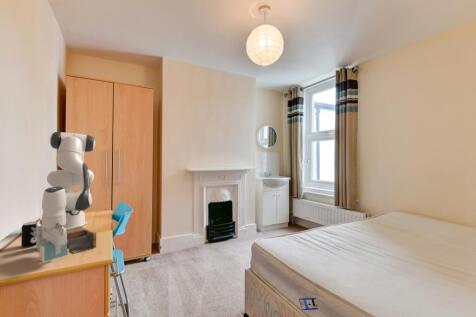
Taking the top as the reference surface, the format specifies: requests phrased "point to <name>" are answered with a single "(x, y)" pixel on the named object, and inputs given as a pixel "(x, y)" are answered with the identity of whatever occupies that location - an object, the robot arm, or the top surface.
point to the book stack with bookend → (80, 239)
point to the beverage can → (28, 234)
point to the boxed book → (51, 251)
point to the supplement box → (39, 237)
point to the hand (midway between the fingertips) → (54, 251)
